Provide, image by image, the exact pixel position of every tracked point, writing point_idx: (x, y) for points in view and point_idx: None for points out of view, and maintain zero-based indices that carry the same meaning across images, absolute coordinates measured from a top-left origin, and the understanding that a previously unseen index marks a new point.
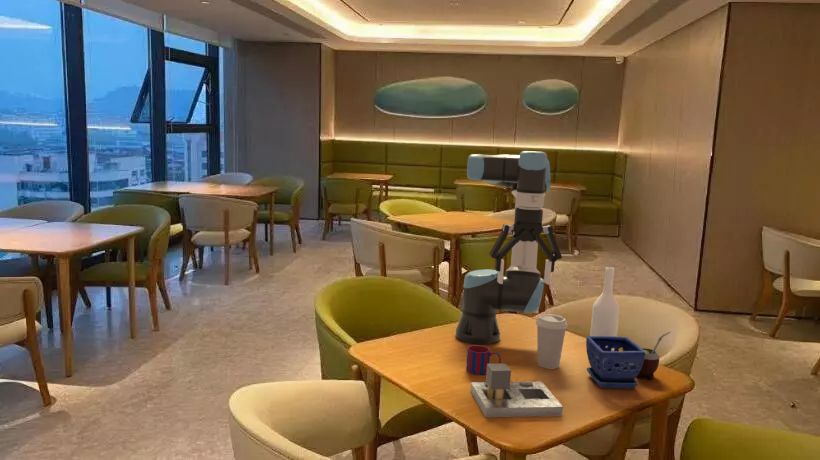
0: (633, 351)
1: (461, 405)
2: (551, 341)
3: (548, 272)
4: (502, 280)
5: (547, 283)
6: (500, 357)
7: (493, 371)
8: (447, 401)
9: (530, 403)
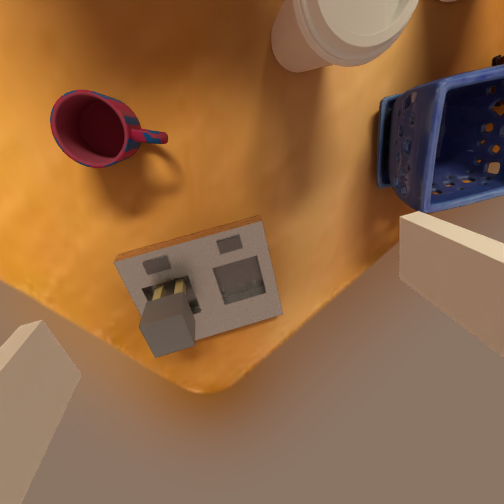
0: (499, 195)
1: (114, 313)
2: (324, 64)
3: (477, 334)
4: (68, 398)
5: (405, 281)
6: (165, 142)
7: (158, 355)
8: (85, 306)
9: (231, 317)
